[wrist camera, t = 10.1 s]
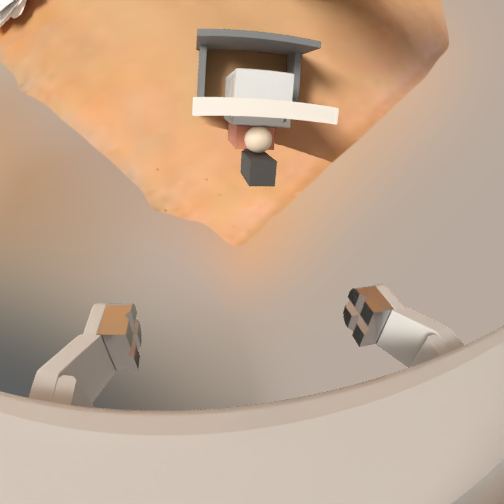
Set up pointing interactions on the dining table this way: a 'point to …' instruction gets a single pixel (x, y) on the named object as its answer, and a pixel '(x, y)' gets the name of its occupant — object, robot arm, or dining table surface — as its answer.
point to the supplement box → (259, 93)
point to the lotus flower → (10, 9)
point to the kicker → (255, 152)
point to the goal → (253, 106)
